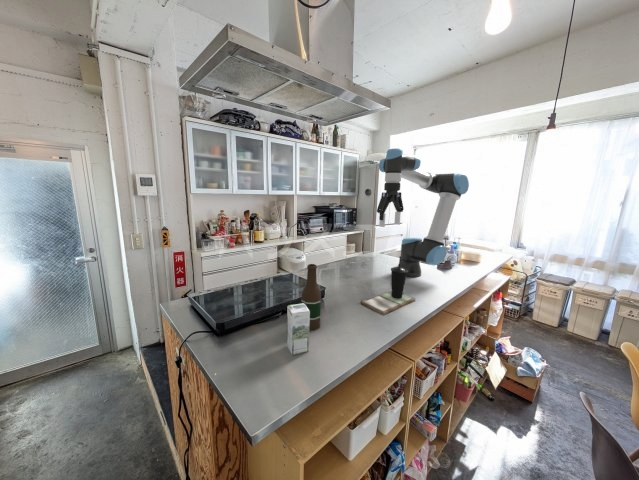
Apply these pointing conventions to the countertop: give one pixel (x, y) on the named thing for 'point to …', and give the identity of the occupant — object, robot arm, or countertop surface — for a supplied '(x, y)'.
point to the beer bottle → (312, 297)
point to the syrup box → (298, 328)
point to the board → (387, 302)
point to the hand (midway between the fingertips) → (389, 225)
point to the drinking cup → (398, 280)
